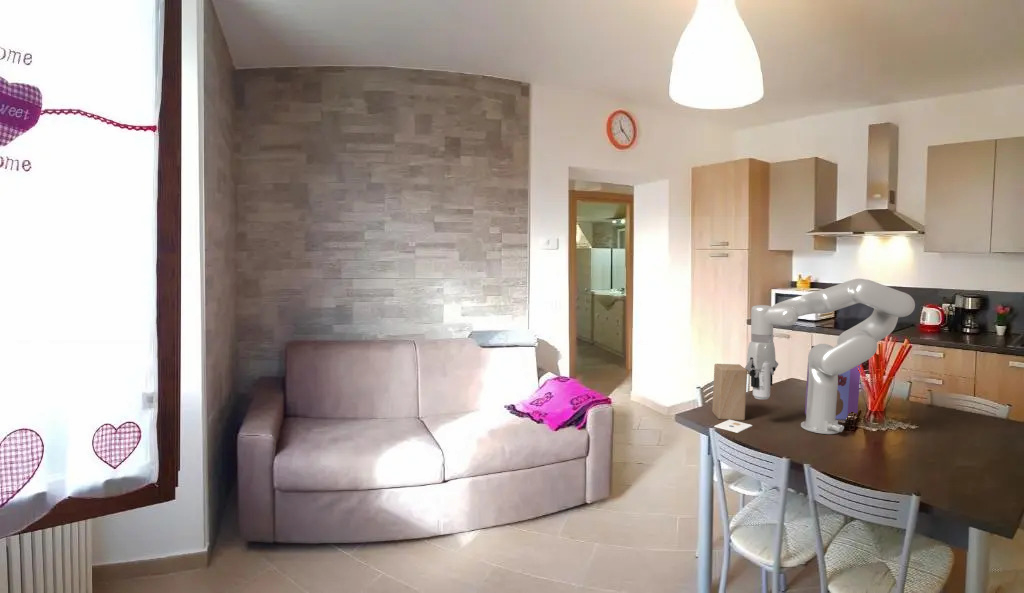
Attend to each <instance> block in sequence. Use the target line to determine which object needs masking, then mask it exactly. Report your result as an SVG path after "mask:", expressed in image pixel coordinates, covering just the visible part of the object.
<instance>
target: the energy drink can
mask: <svg viewBox="0 0 1024 593" xmlns="http://www.w3.org/2000/svg"><path fill="white" fill-rule="evenodd" d="M754 368H755V367H754ZM755 371H756V370H754V373H755ZM770 371H771V363H770V362H769V361H766V362H765V363H763V366H762V369H761V370H759V373H758V376H757V377H759V388H755V387H752V396H753V398H755V399H757V400H768V399H769V398H770V397H771V386H770Z"/></svg>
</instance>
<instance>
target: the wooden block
mask: <svg viewBox="0 0 1024 593" xmlns="http://www.w3.org/2000/svg"><path fill="white" fill-rule="evenodd" d="M713 367H714V370H713V386H712V410H711V412H712V413H713V414H714V416H715V417H716V418H717V419H718V420H725V421H727V420H729V419H730V420H734V421H745V419H746V403H747V400H746V399H747V383H748V382H747V381H748V372H747V371H746V369H745V367H744V366H742V365H741V364H739V363H738V364H737V363H735V364H733V363H715V364H714V366H713Z"/></svg>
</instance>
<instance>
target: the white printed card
mask: <svg viewBox="0 0 1024 593" xmlns="http://www.w3.org/2000/svg"><path fill="white" fill-rule="evenodd" d="M713 427H714V428H717V429H721V430H725V431H729V432H733V433H737V434H738V433H740V432H743V431H745V430H747V429H749V428H751V427H753V425H752V424H750V423H747V422H746V423H745V422H741V421H739V420H730V419H729V420H725V421H723V422H721V423H718V424H716V425H714V426H713Z"/></svg>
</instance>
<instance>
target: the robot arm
mask: <svg viewBox="0 0 1024 593" xmlns="http://www.w3.org/2000/svg"><path fill="white" fill-rule="evenodd" d="M857 304H862V305H866V306H867V307H870V308H873V311H872V313H871V314H870V316H868V317H867V318H866V319H864V320H863V321H860V322H859V323H857V324H856V325H854V326H852V327H850V328H849V329H847V330H845V331H843V332H841V333H840V334H839V335H838V337H837V341H836V342H837V345H834V346H833V345H830V344H828V343H819V344H816V345H813V347H811V349H810V350H809V352H808V354H807V355H808V356H807V368H809V380H808V395H807V410H806V415H805V421H802V422H801V423H800V427H801V428H802V430H803V429H804V430H805V431H808V432H811V433H817V434H822V435H835V434H836V435H837V434H839V433H842V432H843V431H844V429H845V426H844V425H842V424H840V423H839V420H838V419H835V418H836V404H837V390H838V375H840V374H843V373H845V372H847V371H849V370H850V369H852V368H854V367H856V366H858V365H860V364H861V365H862V364H863V363H865V362H866V361H868V360H870V359H871V358H872V357H874V355H875V354H876V352H877V351H878V343H879V342H880V341H881V340H883V339H885V338H886V337H887V336H889V335H890V334H891V333H892V332H894V330H895V328H896V327H897V323H898V319H899V318H904V317H908V316H909V315H911V314H912V313H913V312H914V311H915V309H916V308H915V306H916V303H915V299H914V298H913V297H912V296H911V295H910V294H908V293H907V292H903V291H900V290H898V289H895V288H892V287H889V286H886V285H884V284H881V283H879V282H877V281H874V280H870V279H865V278H855V279H850V280H847V281H844V282H842V283H841V282H840V283H838V284H835V285H833V286H830V287H827V288H824V289H820V290H818V291H817V290H816V291H813V292H810V293H806V294H802V295H799V296H795V297H792V298H789V299H785V300H783V301H779V302H777V303H776V304H774V305H767V304H757V305H753V306H752V307H751V309H750V310H751V312H750V316H751V318H750V319H751V320H750V323H751V324H750V326H751V327H750V329H751V330H750V342H749V344H748V348H747V353H746V354H747V355H746V366H745V367H744V368H745V369H746V371H747V374H749V377H750V387H751V388H753V387H755V388H759V377H757V376H758V373H759V370H761V369H762V366H763V363H765V362H766V361H769V362H770V363H771V371H770V387H772V386H773V376H774V374H775V372H776V369H777V368H778V366H779V362H778V361H777V360H776V348H775V342H774V337H775V335H774V326H782V327H789V326H793V325H795V324H796V323H797V322H798V320H799V317H802V316H806V315H811V314H813V315H814V314H819V315H820V314H821V315H822V314H828V313H829V314H830V313H833V312H835V311H837V310H838V311H839V310H841V309H844V308H847V307H851V306H853V305H857ZM754 367H755V368H754ZM754 370H756V371H755V373H754Z"/></svg>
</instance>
